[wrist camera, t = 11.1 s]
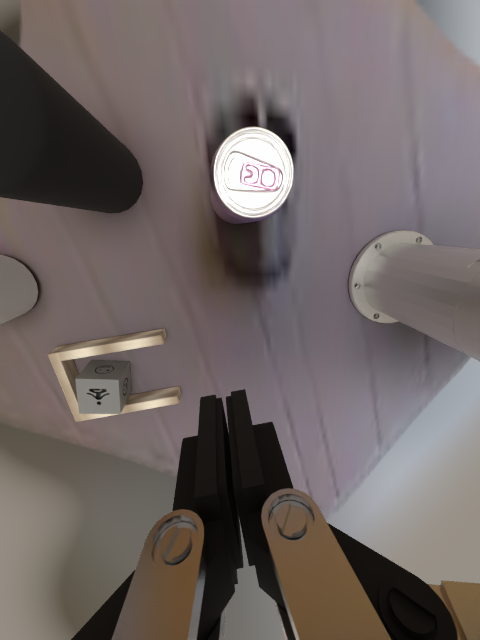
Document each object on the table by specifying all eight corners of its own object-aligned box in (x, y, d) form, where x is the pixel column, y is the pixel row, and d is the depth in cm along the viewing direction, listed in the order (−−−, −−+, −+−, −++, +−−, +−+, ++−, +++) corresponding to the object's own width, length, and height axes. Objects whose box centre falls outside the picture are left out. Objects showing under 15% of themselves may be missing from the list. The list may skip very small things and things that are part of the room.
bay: (164, 328, 37) (161, 335, 35) (180, 393, 40) (178, 403, 38) (58, 346, 36) (47, 354, 34) (84, 410, 40) (75, 421, 37)
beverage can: (255, 227, 34) (286, 227, 20) (207, 219, 33) (204, 212, 19) (264, 175, 32) (306, 134, 18) (214, 164, 31) (216, 112, 17)
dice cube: (130, 361, 38) (118, 379, 33) (131, 391, 40) (120, 414, 35) (92, 359, 38) (75, 378, 33) (95, 391, 39) (79, 413, 34)
